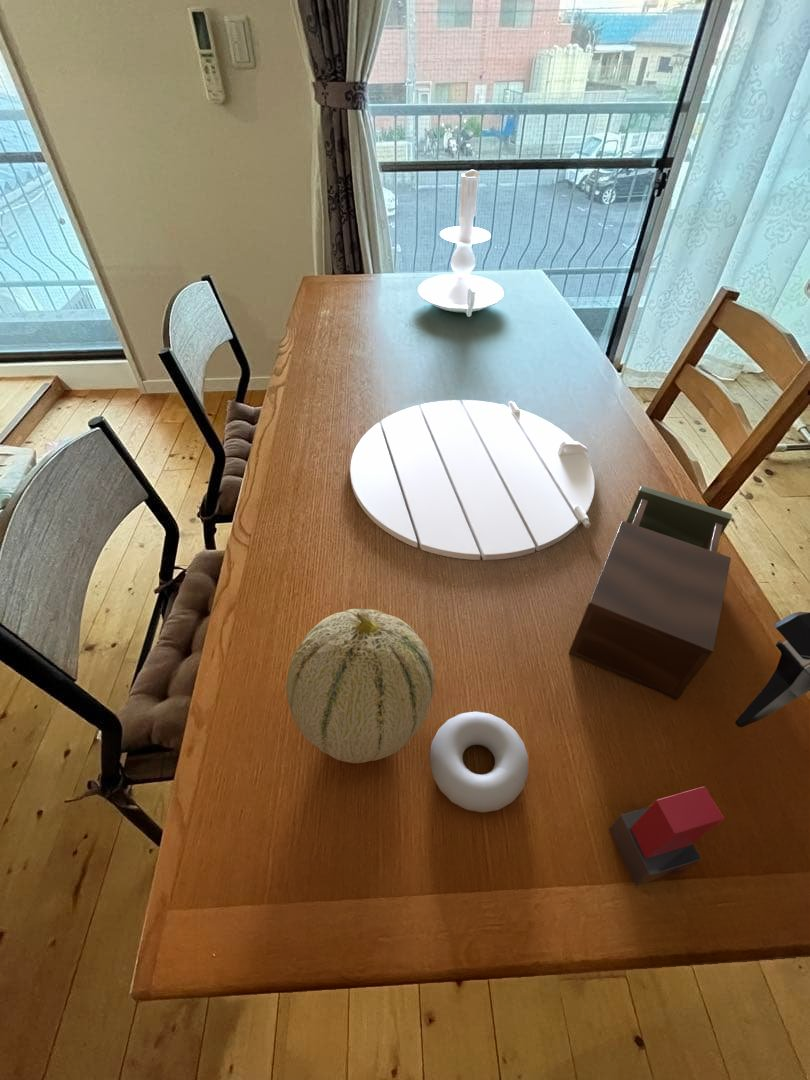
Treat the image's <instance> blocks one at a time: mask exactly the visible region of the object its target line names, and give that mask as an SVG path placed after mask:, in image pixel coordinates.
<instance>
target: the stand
mask: <svg viewBox="0 0 810 1080" xmlns="http://www.w3.org/2000/svg"><path fill="white" fill-rule="evenodd" d="M650 806H651V805H649V806H646V807H641V808H638V809H636V810H632V811H629V812H624V813H622V814H620V815H618V817H617V818H616V820H614V821H613V823H612V824H611V825H610V826H609V827H608V830H609V832H610V835H611V837H612V839H613V841H614V843H615V845H616V847H617V850H618V852H619V854H620V855H621V858H622V861H623V862H624V864H625V867H626V868H627V871H628V873H629V875H630V877H631V879H632V881H633V883H634V886H635V887H639V886H643V885H645V884H649V883H652V882H655V881H659V880H662V879H666V878H668V877H672V876H675V875H677V874H680V873H684V872H686V871H687V870H689V869H690V868H691V867H693V866H694V865H696V864H697V863H699V862H700V861H702V857H701V855H700V853H699V852H698V850H697V848H696V846H695V845H694V843H693V844H692V845H690V846H686V847H683V848H680V849H677V850H673V851H670V852H667V853H664V854H660V855H657V856H654V857H651V858H648V859H646V858H645V856H644V854H643V852H642V850H641V848H640V846H639V844H638V842H637V840H636V838H635V836H634V834H633V832H632V830H631V827H632V825H633V824H634V823H635V822H636V821H637V820H638V819H639V818H640V817H641V816H642V815H643V814H644V813H645V812H646V811H647V810H648V809H649V808H650Z"/></svg>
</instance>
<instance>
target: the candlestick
mask: <svg viewBox="0 0 810 1080" xmlns="http://www.w3.org/2000/svg"><path fill="white" fill-rule="evenodd" d="M479 181H480V171H478V170H475V169H470V170H468V171H465V172H464V173H463V172H462V173H461V176H460V189H459V201H458V202H459V203H458V207H459V213H458V221H457V222H458V224H459V225H457V226H451V227H447V228H444V229H442V230H441V231H440V232H439V236H440V237H441V238H442V239H443V240H445V241H448V242H451V243H455V244H456V248H455V251H454V252H453V254H452V256H451V259H450V267H451V269H452V272H453V273H454V274H453V273H452V274H442V275H437V276H434V277H431V278H428V279H426V280H424V281H423V282H421V284H419V285H418V288H417V293H418V295H419V297H420V298H421V299H422V300H424V301H425V302H427V303H429V304H431V305H433V306H435V307H437V308H439V309H440V310H441V309H442V310H444V311H449V312H453V313H454V312H455V313H465V315H466V316H467V317H472V313H473V312H477V311H480V310H484V309H487V308H490V307H492V306H495V305H496V304H498V303H499V302H501V301H502V300H503V298H504V295H505V293H504V289H503V288H502V286H501V285H499V284H498V283H497V282H495V281H493V280H491V279H488V278H486V277H481V276H477V275H472V274H471V273H473V270H474V269H475V267H476V256H475V253H474V252H473V245H474V244H480V243H484V242H486V241H488V240H490V239H491V237H492V235H491V233H490V232H489V231H488V230H486V229H484V228H480V227H477V226H476V227H475V226H474V218H475V217H476V216H477V203H478V192H479V183H480V182H479Z"/></svg>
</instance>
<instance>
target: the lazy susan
mask: <svg viewBox="0 0 810 1080" xmlns="http://www.w3.org/2000/svg"><path fill="white" fill-rule="evenodd" d="M507 404H508V405H506V404H502V403H497V402H491V401H486V400H485V401H484V400H475V399H461V400H460V399H448V400H447V399H446V400H437V401H430V402H424V403H421V404H417V405H413V406H410V407H407V408H404V409H401V410H397V411H396V412H393V413H392V414H390V415H388V416H386V417H384V418H383V419H381V421H378V422H377V423H375V424H374V425H373V426H372V427H370V429H368V430H367V431H365V434H363V436H362V437H360V440H359V441H358V442H357V444H356V446H355V448H354V450H353V453H352V455H351V459H350V465H349V470H350V471H349V473H350V474H349V475H350V483H351V488H352V491H353V495H354V497H355V500H356V501H357V503H358V505H359V506H360V508H361V509H362V511H363V513H365V515H366V516H367V517H368V518H369V519H370V520H371V521H372V522H373V523H374V524H375V525H377V526H378V527H379V528H380V529H381V530H382V531H384V532H386V533H388V534H389V535H390V536H392V537H393V538H395V539H397V540H399V541H401V542H402V543H404V544H407V545H409V546H411V547H413V548H415V549H418V545H419V548H420V550H422V551H425V552H427V553H430V554H434V555H439V556H443V557H448V558H454V559H461V560H469V561H470V560H471V561H473V560H474V561H480V560H481V559H482V561H494V560H505V559H512V558H519V557H523V556H527V555H531V554H534V553H535V552H540V551H542V550H545V549H547V548H549V547H551V546H554V545H555V544H557V543H559V542H560V541H562V540H564V539H565V538H567V536H569V535H570V534H571V533H573V532H574V531H575V530H577V527H578V526H580V524H583V527H585V528H586V529H588V528H590V527H591V523H590V518H589V516H588V515H587V514H588V512H589V510H590V508H591V505H592V502H593V499H594V496H595V489H596V488H595V486H596V483H595V481H596V480H595V474H594V471H593V470H594V469H593V468H592V464H591V462H590V460H589V458H588V457H587V455H586V454H587V453H590V452H589V449H588V447H586V445H585V444H583V443H581V442H580V441H575V440H574V439H573V438H572V437H571V436H570V435H569V434H568V433H566V432H565V431H563V430H562V429H561V428H560V427H558V426H557V425H555V424H553V423H552V422H550V421H549V420H547V419H545V418H543V417H540V416H538V415H536V414H534V413H531V412H529V411H527V410H524V409H522V408H521V409H520V408H519V407H518V406H517V404H516V402H515V401H513V400H509V401H508V402H507Z"/></svg>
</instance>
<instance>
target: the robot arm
mask: <svg viewBox="0 0 810 1080" xmlns="http://www.w3.org/2000/svg"><path fill="white" fill-rule="evenodd" d="M772 625H773V626H774V628H775V629H776V630H777V631H778V632H779V633H780V634H781V636H782V637H783V638H784V639H785V640H786V641H784V642H782V641H781V640H778V641H777V642H776V643H775V647H776V648H777V649H778V651H779V652H780V657H779V660H778V663H777V666H776V668H775V670H774V672H773V673H772V675H771V677H770V678H769V680H768V682H767V683H766V685H764V686H763V688H762V689H761V691H760V692H759V693H758V694H757V695H756V696H755V697H754V699H753V700H752V701H751V702H750V703H749V704H748V706H747V707H746V708H745V709H744V710H743V712H742V713H741V714H740V715H739V716H738V717H737V718H736V720H735V722H734V724H735V725H736V727H738V728H741V729H742V728H744V727H747V726H749V725H752V724H754V723H756V722H759V721H761V720H762V719H764V718H766V717H768V716H769V715H771V714H772V713H774V712H776V711H778V710H780V709H781V708H783V707H784V706H786V705H788V704H789V703H791V702H793V701H795V700H796V699H797V698H800V697H801V696H803V695H804V694H806V693H808V692H810V611H809V612H808V611H797V612H794V613H791V614H788V615H787V616H786V617H784V618H781V619H780V620H779V621H777V622H775V623H773V624H772Z"/></svg>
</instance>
